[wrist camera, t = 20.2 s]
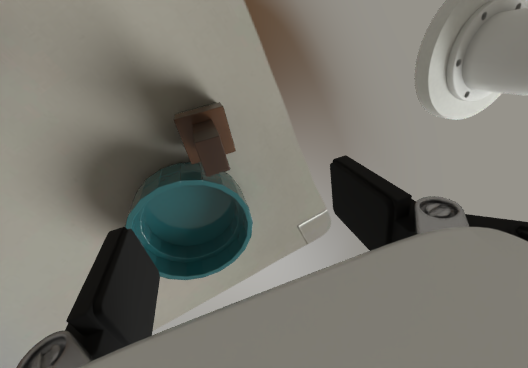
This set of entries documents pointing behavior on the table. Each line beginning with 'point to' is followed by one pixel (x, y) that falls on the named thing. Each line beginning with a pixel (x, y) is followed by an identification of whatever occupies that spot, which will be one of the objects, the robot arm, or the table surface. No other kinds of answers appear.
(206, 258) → the bowl
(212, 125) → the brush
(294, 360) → the robot arm
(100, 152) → the table surface
